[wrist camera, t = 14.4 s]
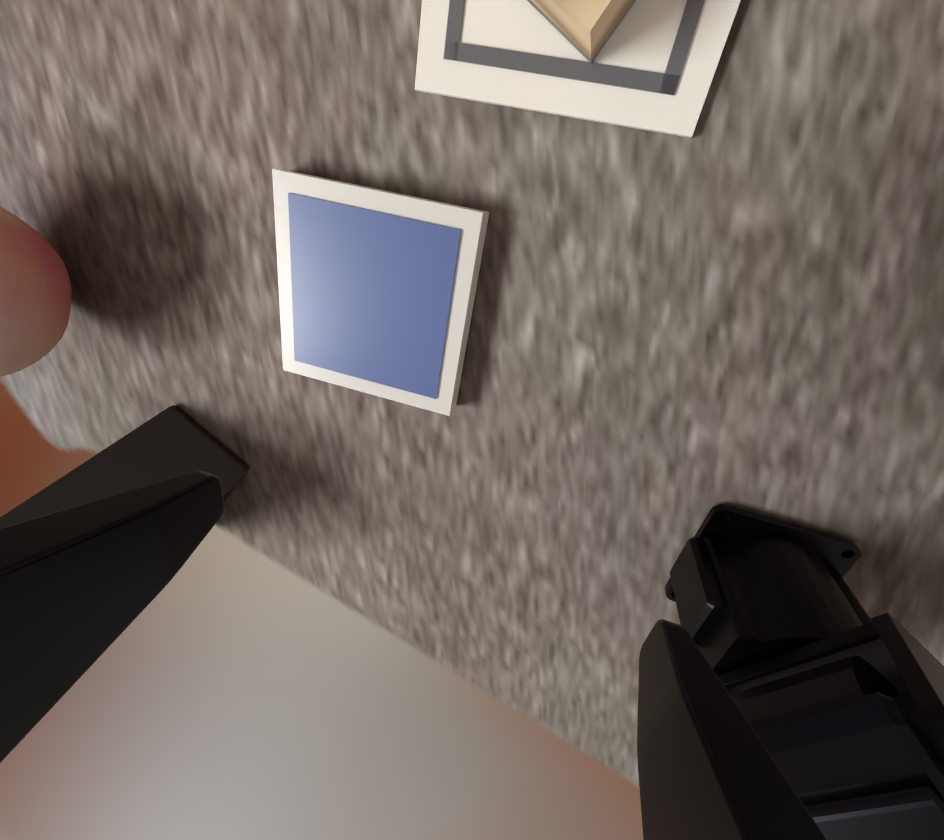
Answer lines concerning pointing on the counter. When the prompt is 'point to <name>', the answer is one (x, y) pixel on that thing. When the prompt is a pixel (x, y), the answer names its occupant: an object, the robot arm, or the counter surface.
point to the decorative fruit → (29, 295)
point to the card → (577, 61)
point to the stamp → (584, 21)
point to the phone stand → (137, 466)
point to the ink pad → (376, 287)
